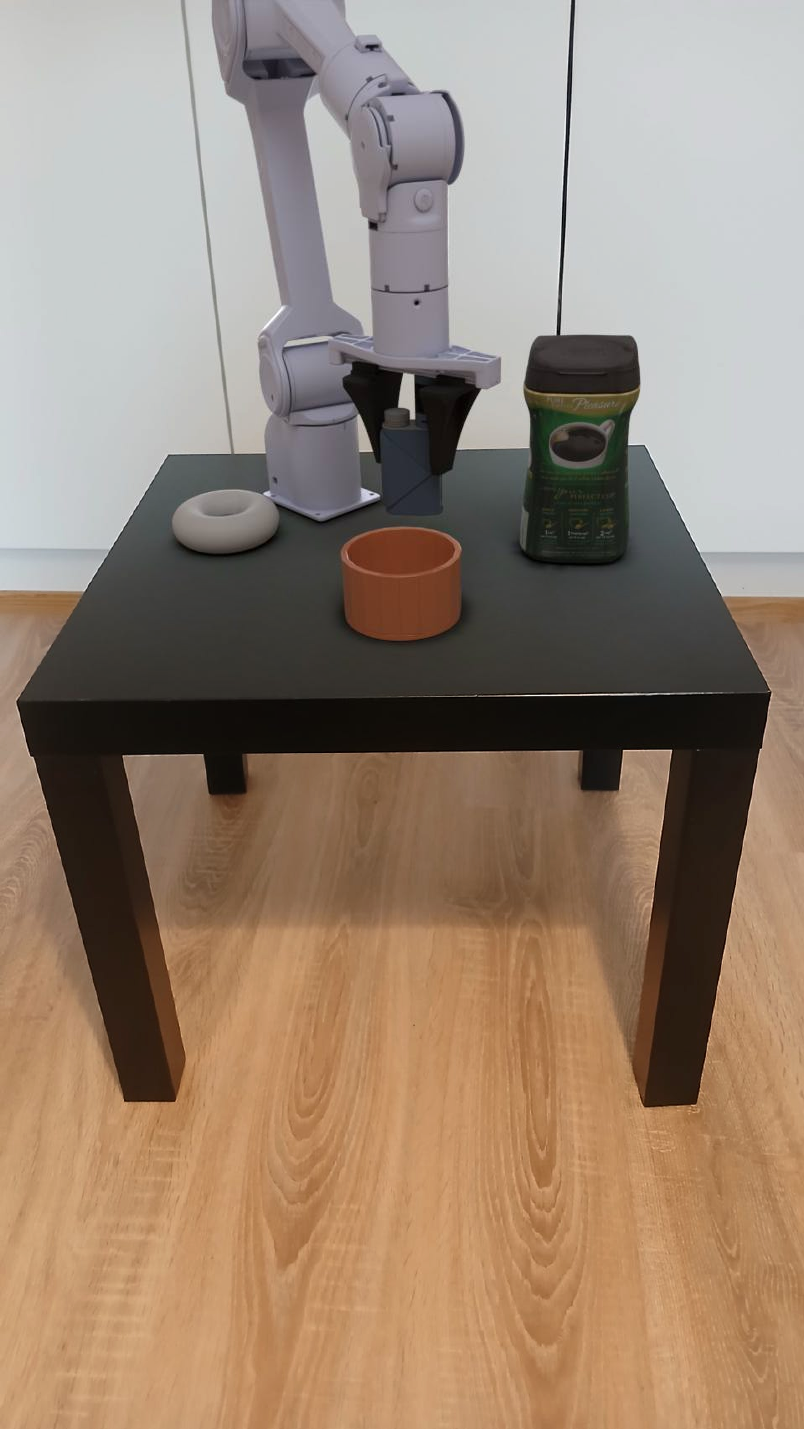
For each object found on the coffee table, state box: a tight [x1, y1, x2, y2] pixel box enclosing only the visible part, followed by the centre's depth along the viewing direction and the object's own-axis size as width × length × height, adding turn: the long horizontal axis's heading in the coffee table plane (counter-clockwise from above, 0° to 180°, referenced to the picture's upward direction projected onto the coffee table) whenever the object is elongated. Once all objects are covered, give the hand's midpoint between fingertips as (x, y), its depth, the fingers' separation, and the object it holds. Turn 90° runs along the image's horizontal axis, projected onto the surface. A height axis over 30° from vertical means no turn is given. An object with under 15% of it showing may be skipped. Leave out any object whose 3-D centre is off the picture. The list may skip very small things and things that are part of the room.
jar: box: [340, 526, 463, 642], centre depth 84 cm, size 9×9×6 cm
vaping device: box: [380, 375, 444, 517], centre depth 83 cm, size 3×5×12 cm, turn 83°
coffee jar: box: [519, 334, 642, 564], centre depth 90 cm, size 10×8×19 cm
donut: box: [171, 489, 281, 555], centre depth 98 cm, size 10×4×10 cm
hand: (414, 465), depth 84 cm, fingers closed on vaping device, 5 cm apart
